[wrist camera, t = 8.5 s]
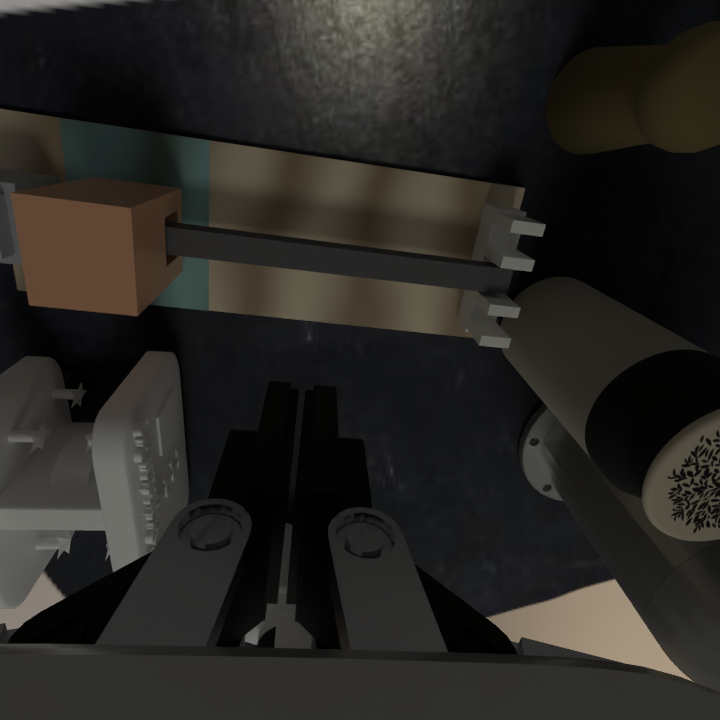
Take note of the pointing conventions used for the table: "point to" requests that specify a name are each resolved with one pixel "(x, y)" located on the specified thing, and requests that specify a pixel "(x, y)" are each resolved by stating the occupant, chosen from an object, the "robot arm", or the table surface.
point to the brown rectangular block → (97, 243)
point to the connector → (3, 233)
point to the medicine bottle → (281, 614)
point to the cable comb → (500, 248)
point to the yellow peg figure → (640, 96)
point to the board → (276, 217)
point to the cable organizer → (86, 466)
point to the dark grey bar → (334, 258)
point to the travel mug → (626, 398)
